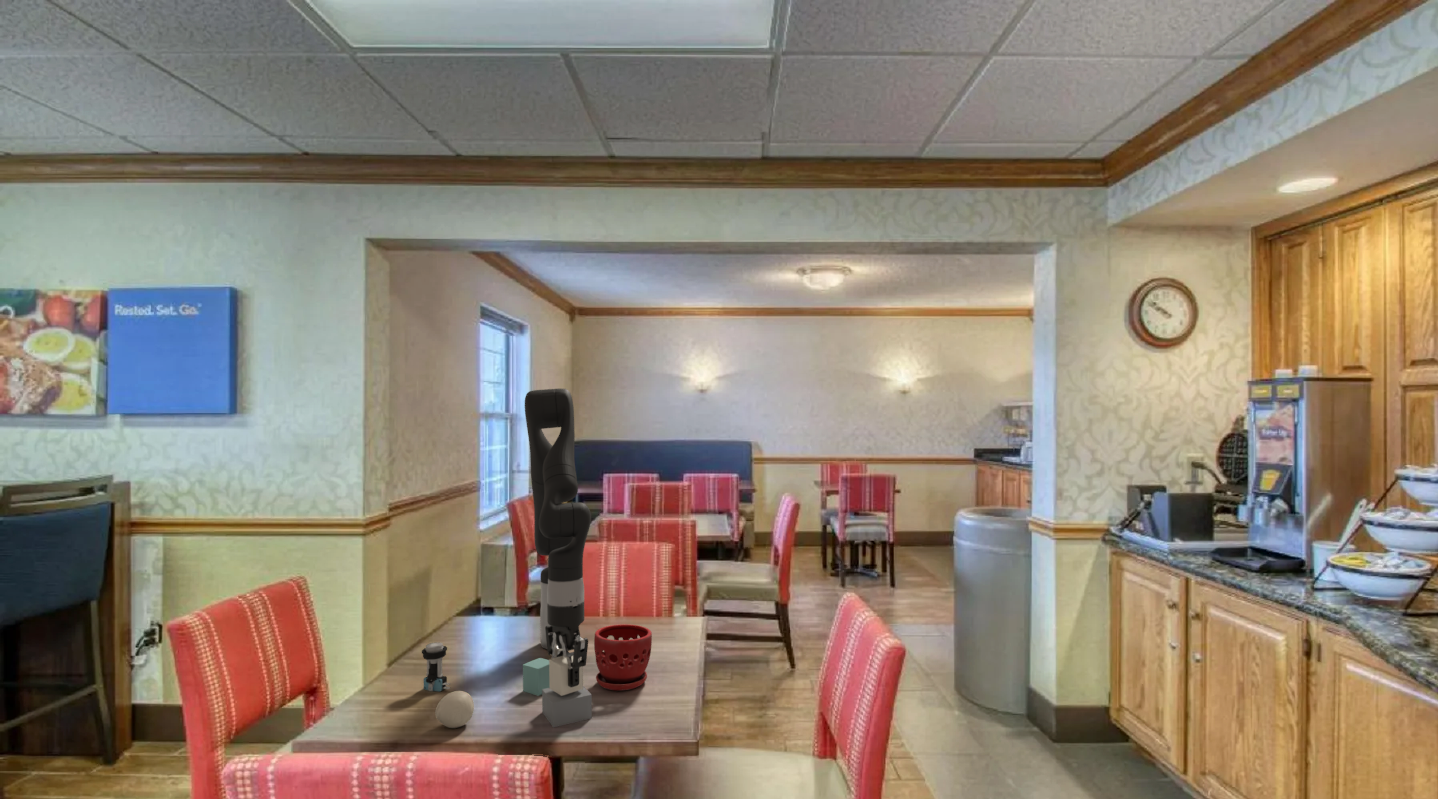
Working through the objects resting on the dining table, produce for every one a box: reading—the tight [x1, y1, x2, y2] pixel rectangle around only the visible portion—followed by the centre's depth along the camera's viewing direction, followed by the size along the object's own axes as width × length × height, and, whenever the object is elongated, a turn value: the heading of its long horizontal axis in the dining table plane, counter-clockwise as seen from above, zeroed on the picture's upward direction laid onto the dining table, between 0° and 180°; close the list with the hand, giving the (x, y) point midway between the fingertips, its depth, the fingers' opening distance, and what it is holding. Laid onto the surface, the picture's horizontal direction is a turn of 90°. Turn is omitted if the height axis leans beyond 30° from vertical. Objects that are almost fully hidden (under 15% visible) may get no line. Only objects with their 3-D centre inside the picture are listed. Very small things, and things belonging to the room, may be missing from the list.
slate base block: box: [541, 685, 593, 728], centre depth 144 cm, size 8×8×5 cm
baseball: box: [434, 690, 475, 729], centre depth 140 cm, size 7×7×7 cm
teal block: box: [522, 657, 550, 697], centre depth 158 cm, size 5×5×6 cm
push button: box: [421, 641, 452, 692], centre depth 158 cm, size 7×5×10 cm
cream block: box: [548, 656, 584, 696], centre depth 144 cm, size 5×5×6 cm
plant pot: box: [593, 623, 653, 691], centre depth 161 cm, size 13×13×12 cm
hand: (566, 681), depth 144 cm, fingers open, 5 cm apart
